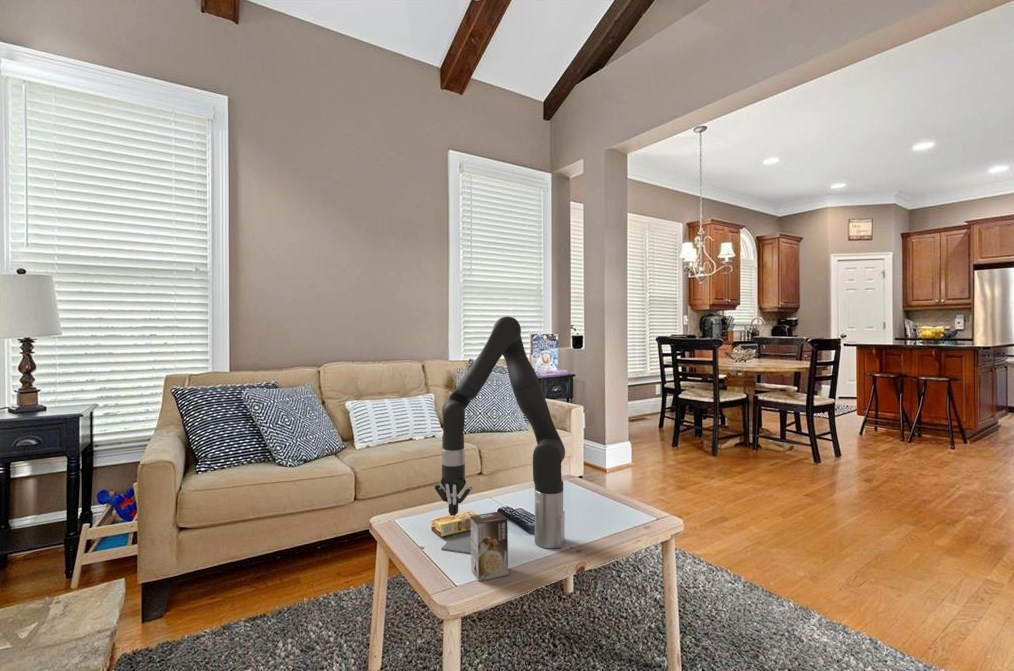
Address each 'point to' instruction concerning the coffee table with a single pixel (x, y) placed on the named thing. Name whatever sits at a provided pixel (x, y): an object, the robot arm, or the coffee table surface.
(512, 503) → the coffee table surface
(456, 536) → the mat
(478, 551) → the coffee box
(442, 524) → the candy box
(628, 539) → the coffee table surface
